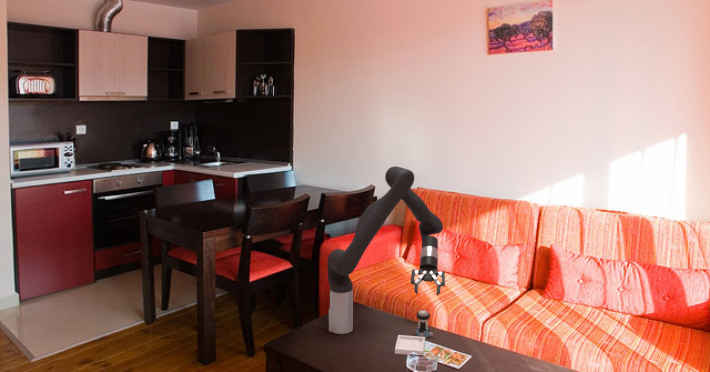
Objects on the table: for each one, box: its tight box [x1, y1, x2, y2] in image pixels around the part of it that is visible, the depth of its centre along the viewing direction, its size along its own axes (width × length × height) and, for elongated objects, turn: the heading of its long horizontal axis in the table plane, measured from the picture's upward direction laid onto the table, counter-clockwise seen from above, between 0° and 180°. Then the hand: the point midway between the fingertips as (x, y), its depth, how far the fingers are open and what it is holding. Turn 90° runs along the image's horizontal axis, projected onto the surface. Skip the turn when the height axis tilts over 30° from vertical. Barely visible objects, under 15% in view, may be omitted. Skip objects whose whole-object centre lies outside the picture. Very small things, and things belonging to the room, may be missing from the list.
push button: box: [416, 309, 434, 338], centre depth 213 cm, size 7×5×10 cm
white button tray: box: [394, 334, 426, 356], centre depth 204 cm, size 10×12×2 cm
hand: (427, 293), depth 222 cm, fingers open, 8 cm apart
